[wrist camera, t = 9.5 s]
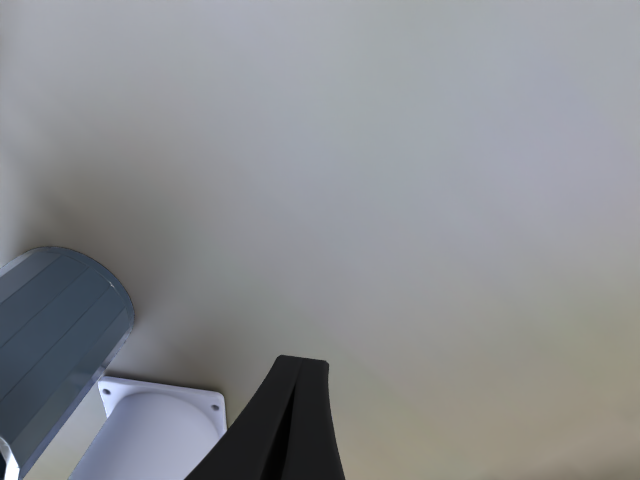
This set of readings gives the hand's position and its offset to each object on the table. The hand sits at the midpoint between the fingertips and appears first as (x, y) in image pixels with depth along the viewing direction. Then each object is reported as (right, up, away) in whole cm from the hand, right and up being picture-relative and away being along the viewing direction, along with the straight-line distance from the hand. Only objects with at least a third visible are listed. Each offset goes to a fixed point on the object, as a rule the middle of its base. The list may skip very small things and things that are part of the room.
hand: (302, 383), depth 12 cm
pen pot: (-13, +1, +13) cm, 18 cm away
